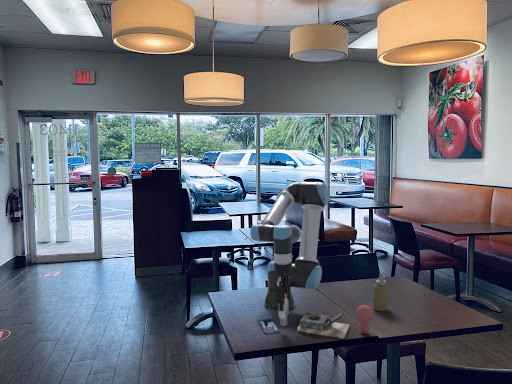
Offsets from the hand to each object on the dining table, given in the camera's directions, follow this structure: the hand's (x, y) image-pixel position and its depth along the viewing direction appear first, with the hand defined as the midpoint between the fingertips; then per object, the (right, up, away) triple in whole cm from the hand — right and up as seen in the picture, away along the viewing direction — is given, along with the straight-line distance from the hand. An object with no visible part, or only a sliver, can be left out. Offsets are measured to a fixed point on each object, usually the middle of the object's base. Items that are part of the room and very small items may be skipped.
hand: (283, 315), depth 175 cm
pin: (0, -4, 0) cm, 4 cm away
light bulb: (+34, -7, -1) cm, 35 cm away
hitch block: (+18, -7, +3) cm, 19 cm away
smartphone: (-6, -7, +7) cm, 12 cm away
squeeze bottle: (+49, -5, +26) cm, 56 cm away
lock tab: (+22, -2, +1) cm, 22 cm away
